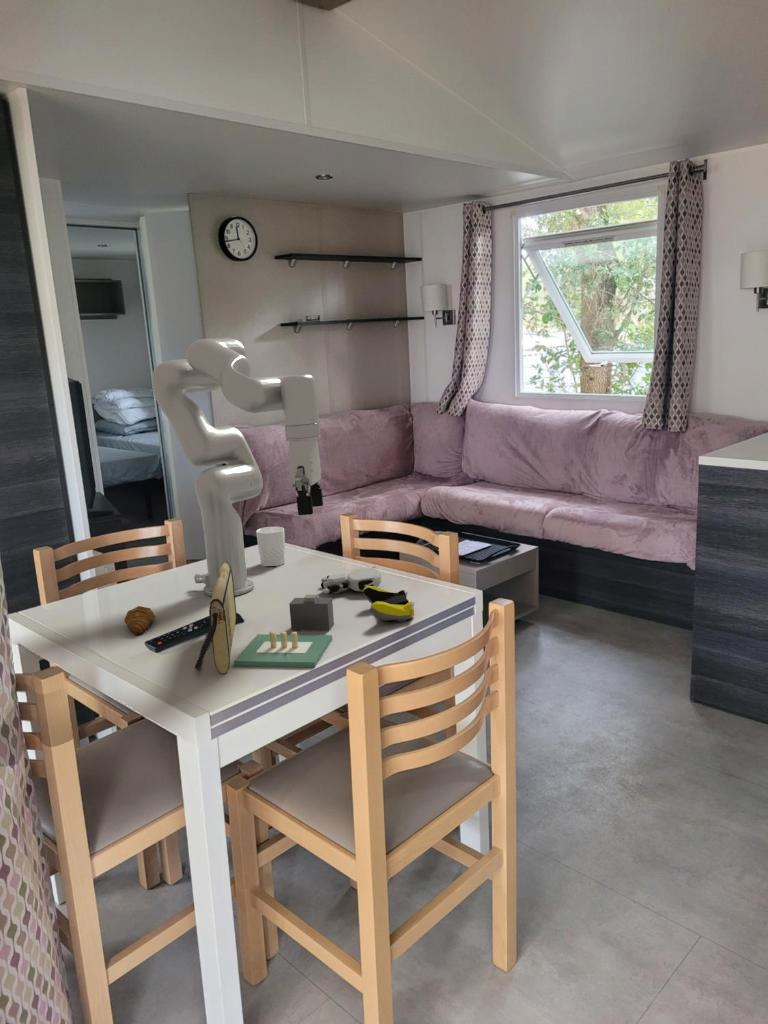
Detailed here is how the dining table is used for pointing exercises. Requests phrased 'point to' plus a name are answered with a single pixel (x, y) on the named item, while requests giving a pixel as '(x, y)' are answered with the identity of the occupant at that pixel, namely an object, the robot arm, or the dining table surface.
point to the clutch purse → (221, 620)
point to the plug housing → (311, 613)
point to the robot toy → (351, 580)
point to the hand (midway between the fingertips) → (311, 510)
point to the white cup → (271, 545)
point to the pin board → (284, 650)
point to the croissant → (139, 619)
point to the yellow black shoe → (389, 604)
